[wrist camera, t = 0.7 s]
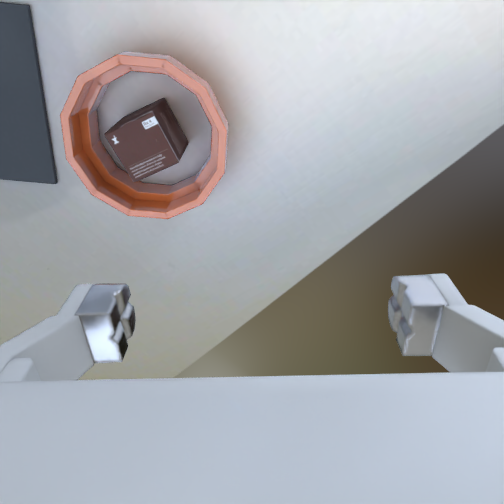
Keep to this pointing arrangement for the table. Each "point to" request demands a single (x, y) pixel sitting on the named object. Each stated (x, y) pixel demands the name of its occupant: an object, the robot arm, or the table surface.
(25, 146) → the mat
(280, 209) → the table surface
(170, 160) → the box
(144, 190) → the ring
